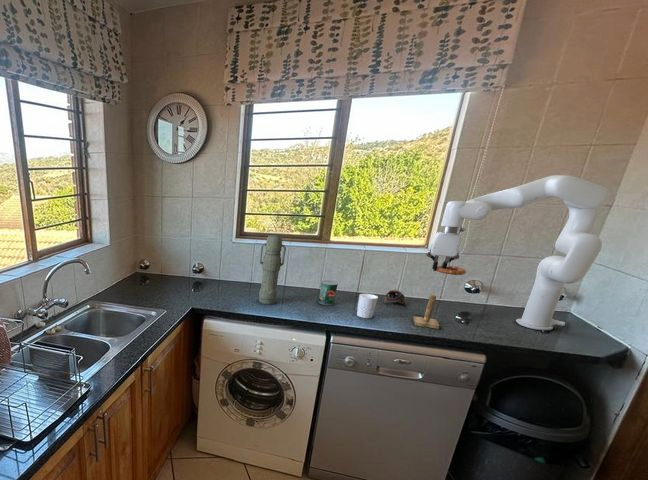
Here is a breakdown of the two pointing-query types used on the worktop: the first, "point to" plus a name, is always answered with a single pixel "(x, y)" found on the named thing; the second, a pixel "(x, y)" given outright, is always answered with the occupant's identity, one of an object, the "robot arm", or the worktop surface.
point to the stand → (427, 316)
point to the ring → (451, 270)
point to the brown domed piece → (394, 297)
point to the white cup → (366, 305)
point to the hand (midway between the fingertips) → (438, 270)
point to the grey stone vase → (271, 268)
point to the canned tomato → (327, 292)
